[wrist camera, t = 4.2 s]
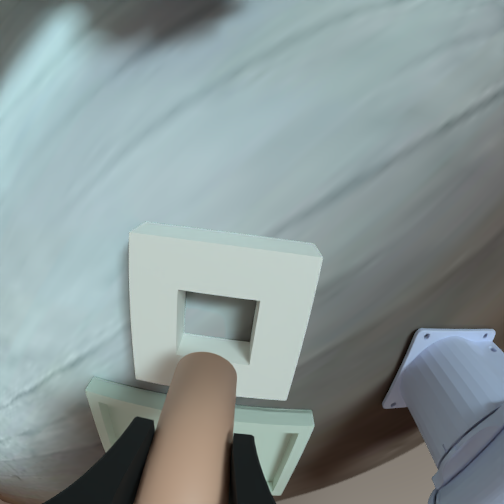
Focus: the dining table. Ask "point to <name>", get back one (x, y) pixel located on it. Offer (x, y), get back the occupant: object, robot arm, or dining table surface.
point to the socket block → (223, 284)
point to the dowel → (193, 435)
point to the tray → (245, 422)
